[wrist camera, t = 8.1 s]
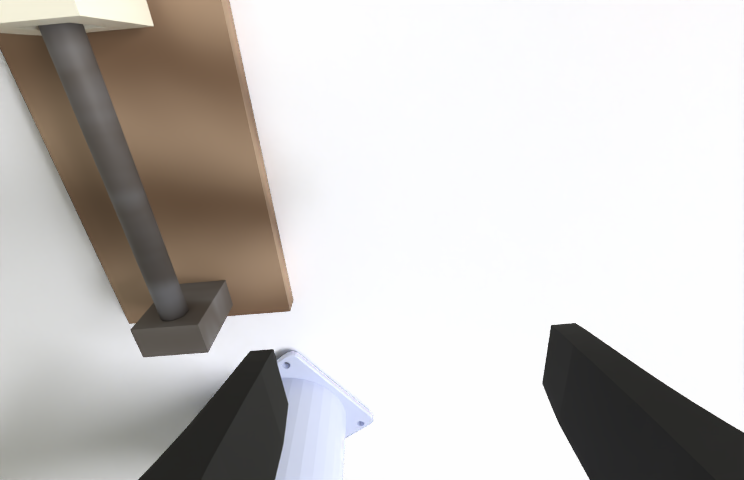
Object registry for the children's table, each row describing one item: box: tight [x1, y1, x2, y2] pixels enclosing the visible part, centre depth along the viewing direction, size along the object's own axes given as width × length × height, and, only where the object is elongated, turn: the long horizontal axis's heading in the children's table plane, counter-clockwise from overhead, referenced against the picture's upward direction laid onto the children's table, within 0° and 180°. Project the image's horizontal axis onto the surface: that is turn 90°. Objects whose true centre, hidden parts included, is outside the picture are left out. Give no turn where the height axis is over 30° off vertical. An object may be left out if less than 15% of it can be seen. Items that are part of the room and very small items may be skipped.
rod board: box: [0, 0, 293, 357], centre depth 13 cm, size 25×9×5 cm, turn 5°
